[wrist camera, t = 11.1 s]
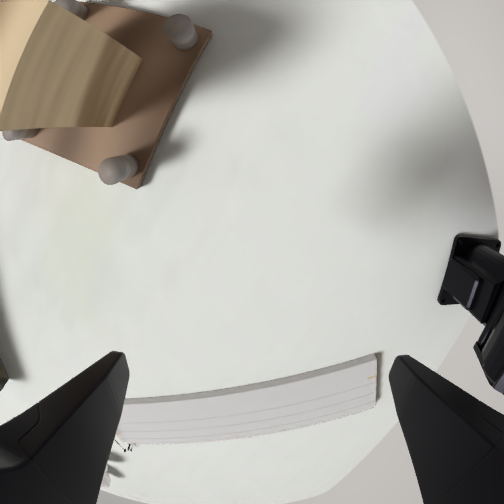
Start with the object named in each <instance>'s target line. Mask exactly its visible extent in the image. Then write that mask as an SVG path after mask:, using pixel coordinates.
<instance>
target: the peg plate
mask: <svg viewBox="0 0 504 504" xmlns="http://www.w3.org/2000/svg"><path fill="white" fill-rule="evenodd" d="M54 3H55V4H57V5H59V6H61V7H62V8H64V9H66V10H68V11H69V12H71V13H73V14H74V15H76V16H78V17H79V18H81V19H83V20H84V21H86V22H88V23H89V24H91V25H92V26H94V27H96V28H97V29H99V30H100V31H102V32H104V33H105V34H107V35H108V36H110V37H111V38H113V39H114V40H116V41H117V42H119V43H120V44H122V45H123V46H125V47H126V48H128V49H129V50H131V51H132V52H134V53H135V54H136V55H138V56H139V57H141V58H142V59H143V60H142V62H141V64H140V66H139V68H138V70H137V72H136V74H135V76H134V78H133V80H132V82H131V85H130V87H129V89H128V91H127V93H126V95H125V98H124V100H123V102H122V105H121V107H120V109H119V112H118V114H117V116H116V119H115V121H114V124H113V126H112V127H56V128H35V129H20V130H9V131H2V133H3V137H4V139H5V140H7V141H11V140H18V139H21V140H23V141H25V142H28V143H30V144H32V145H35V146H37V147H40V148H42V149H44V150H47V151H49V152H51V153H54V154H56V155H58V156H61V157H63V158H66V159H68V160H70V161H73V162H75V163H77V164H80V165H82V166H84V167H87V168H89V169H91V170H94V171H96V172H98V173H99V177H100V179H101V180H102V181H103V182H104V183H105V184H108V185H113V184H116V183H118V182H121V183H124V184H126V185H128V186H131V187H133V188H135V189H138V188H140V187H141V185H142V182H143V179H144V177H145V174H146V172H147V169H148V166H149V164H150V161H151V159H152V156H153V154H154V152H155V149H156V147H157V144H158V142H159V140H160V137H161V135H162V133H163V130H164V128H165V126H166V124H167V121H168V119H169V117H170V115H171V113H172V110H173V108H174V106H175V104H176V102H177V100H178V98H179V96H180V94H181V92H182V90H183V88H184V86H185V84H186V82H187V80H188V78H189V76H190V74H191V72H192V70H193V68H194V66H195V65H196V63H197V61H198V59H199V57H200V55H201V54H202V52H203V50H204V48H205V46H206V45H207V43H208V41H209V39H210V38H211V36H212V31H211V30H208V29H205V28H202V27H199V26H196V25H193V24H192V22H191V20H190V19H189V17H187V16H186V15H183V14H176V15H173V16H171V17H169V18H168V17H164V16H160V15H155V14H151V13H147V12H142V11H137V10H132V9H127V8H122V7H116V6H110V5H103V4H95V3H87V2H78V1H76V0H56V1H55V2H54Z"/></svg>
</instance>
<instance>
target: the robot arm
mask: <svg viewBox="0 0 504 504" xmlns="http://www.w3.org/2000/svg"><path fill="white" fill-rule="evenodd" d="M459 240H460V242H459ZM458 242H459V243H458ZM500 247H501V242H500V241H499V240H498V239H492V238H483V237H473V236H464V235H457V236H456V237H455V239H454V242H453V246H452V250H451V254H450V258H449V262H448V266H447V269H446V273H445V276H444V280H443V283H442V286H441V290H440V293H439V296H438V302H439V303H440V304H441V305H451V304H461V305H462V306H463V307H464V308H465V309H466V310H468V311H469V312H470V313H471V314H472V315H473V316H474V317H475V318H476V319H477V320H478V321H479V322H480V323H482V324H483V325H484V326H485V328H484V330H483V332H482V334H481V336H480V337H479V339H478V341H477V342H476V343H475V345H474V350H475V352H476V354H477V357H478V359H479V361H480V364H481V366H482V369H483V371H484V373H485V376H486V378H487V380H488V382H489V384H490V385H491V386H492V387H493V388H494V389H495V390H497V391H499V392H501V393H502V394H503V395H504V256H503V255H502V254H500V253H499V250H500ZM442 299H443V300H442ZM128 381H129V368H128V364H127V360H126V357H125V354H124V353H123V352H117V351H111V352H110V353H108V354H107V355H105V356H104V357H103V358H101V359H100V360H98V361H97V362H95V363H94V364H93V365H91V366H90V367H88V368H87V369H85V370H84V371H83V372H81V373H80V374H78V375H77V376H75V377H74V378H72V379H71V380H70V381H68V382H67V383H65V384H64V385H62V386H61V387H60V388H58V389H57V390H55V391H54V392H52V393H51V394H49V395H48V396H47V397H45V398H44V399H42V400H41V401H40V402H39V403H36V404H35V405H34V406H32V407H31V408H29V409H28V410H26V411H25V412H23V413H22V414H20V415H18V416H17V417H15V418H13V419H11V420H10V421H8V422H6V423H4V424H2V425H1V426H0V504H96V502H97V498H98V494H99V490H100V487H101V483H102V479H103V476H104V472H105V468H106V465H107V461H108V458H109V454H110V451H111V448H112V444H113V441H114V438H115V434H116V431H117V428H118V425H119V422H120V418H121V415H122V410H123V405H124V400H125V395H126V390H127V385H128ZM389 382H390V386H391V390H392V394H393V399H394V403H395V407H396V412H397V415H398V419H399V422H400V425H401V428H402V431H403V433H404V437H405V440H406V443H407V446H408V450H409V453H410V456H411V459H412V463H413V466H414V469H415V473H416V476H417V480H418V483H419V487H420V491H421V495H422V499H423V503H424V504H504V415H503V414H501V413H499V412H497V411H496V410H494V409H492V408H491V407H489V406H487V405H486V404H484V403H483V402H481V401H479V400H478V399H476V398H475V397H473V396H472V395H470V394H469V393H467V392H465V391H463V390H462V389H461V388H459V387H458V386H456V385H454V384H453V383H451V382H450V381H448V380H447V379H445V378H443V377H442V376H440V375H439V374H437V373H436V372H434V371H432V370H431V369H429V368H428V367H426V366H425V365H423V364H421V363H420V362H418V361H417V360H415V359H414V358H412V357H410V356H409V355H399V356H397V357H396V358H395V360H394V363H393V365H392V368H391V370H390V373H389Z"/></svg>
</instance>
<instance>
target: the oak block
mask: <svg viewBox="0 0 504 504" xmlns="http://www.w3.org/2000/svg"><path fill="white" fill-rule="evenodd" d="M142 60H143V59H142V58H141V57H139V56H138V55H136V54H135V53H134V52H132V51H131V50H129V49H128V48H126V47H125V46H123V45H122V44H120V43H119V42H117V41H116V40H114V39H113V38H111V37H110V36H108V35H107V34H105V33H104V32H102V31H100V30H99V29H97V28H96V27H94V26H92V25H91V24H89V23H88V22H86V21H84V20H83V19H81V18H79V17H78V16H76V15H74V14H73V13H71V12H69V11H68V10H66V9H64V8H62V7H61V6H59V5H57V4H55V3H53V2H52V1H50V0H5V1H0V131H9V130H20V129H35V128H56V127H112V126H113V124H114V121H115V119H116V116H117V114H118V112H119V109H120V107H121V105H122V102H123V100H124V98H125V95H126V93H127V91H128V89H129V87H130V85H131V82H132V80H133V78H134V76H135V74H136V72H137V70H138V68H139V66H140V64H141V62H142Z"/></svg>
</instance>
